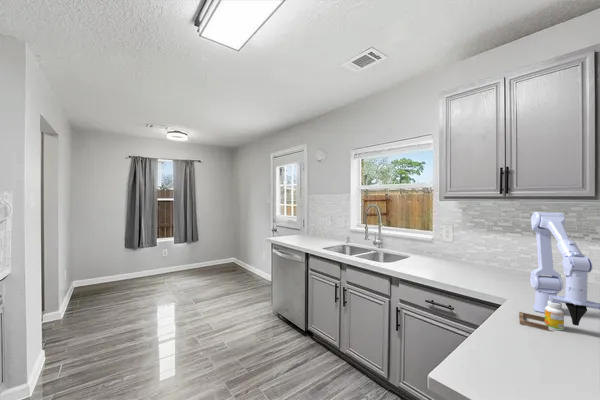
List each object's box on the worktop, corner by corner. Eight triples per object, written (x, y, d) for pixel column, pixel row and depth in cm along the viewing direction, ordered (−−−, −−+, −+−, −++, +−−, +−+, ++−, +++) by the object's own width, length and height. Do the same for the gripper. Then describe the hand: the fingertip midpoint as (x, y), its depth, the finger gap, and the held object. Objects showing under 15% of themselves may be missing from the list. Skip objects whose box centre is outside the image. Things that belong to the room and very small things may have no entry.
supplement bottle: (544, 322, 108) (544, 298, 108) (562, 327, 104) (563, 302, 104) (545, 327, 104) (545, 302, 104) (564, 332, 100) (565, 306, 100)
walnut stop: (519, 315, 115) (519, 311, 114) (545, 321, 109) (545, 317, 109) (519, 324, 106) (519, 320, 106) (548, 330, 101) (548, 326, 101)
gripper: (551, 286, 102) (550, 322, 102) (608, 295, 93) (607, 334, 93) (548, 282, 107) (548, 316, 107) (602, 290, 98) (601, 327, 98)
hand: (575, 324), depth 100 cm, fingers closed
